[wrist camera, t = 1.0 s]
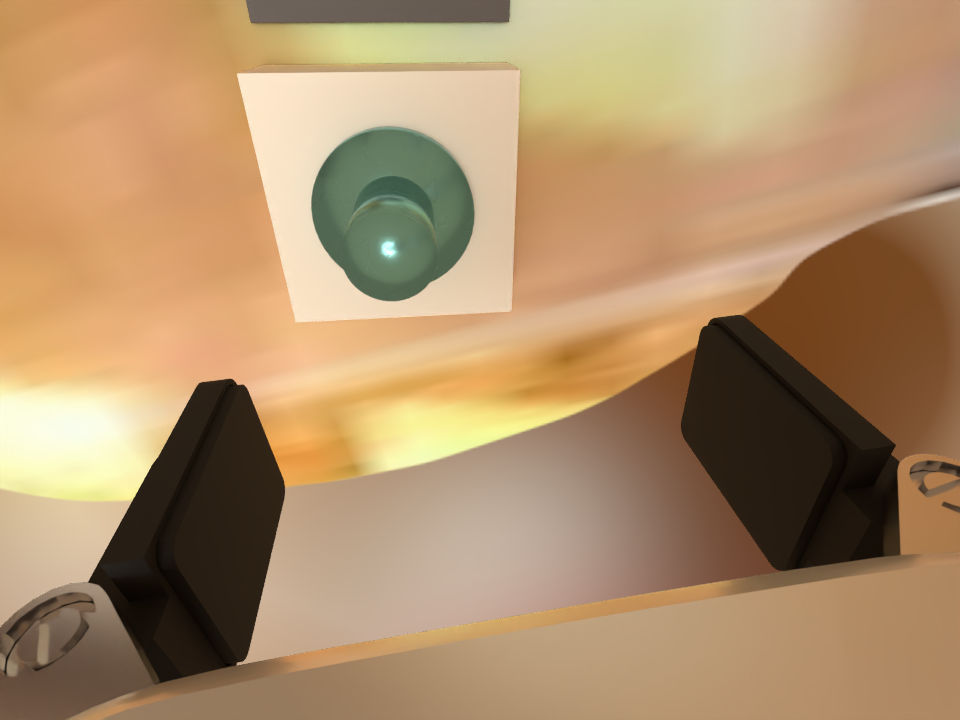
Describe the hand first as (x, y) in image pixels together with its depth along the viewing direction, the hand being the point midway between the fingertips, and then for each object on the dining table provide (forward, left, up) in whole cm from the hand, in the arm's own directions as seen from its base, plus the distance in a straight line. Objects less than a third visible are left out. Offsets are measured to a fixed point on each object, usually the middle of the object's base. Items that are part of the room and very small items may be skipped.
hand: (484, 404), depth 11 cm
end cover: (+3, +3, -26) cm, 26 cm away
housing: (+3, +3, -26) cm, 26 cm away
